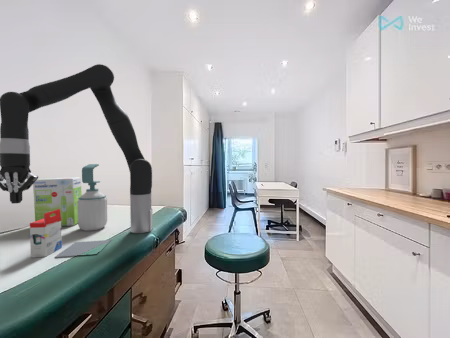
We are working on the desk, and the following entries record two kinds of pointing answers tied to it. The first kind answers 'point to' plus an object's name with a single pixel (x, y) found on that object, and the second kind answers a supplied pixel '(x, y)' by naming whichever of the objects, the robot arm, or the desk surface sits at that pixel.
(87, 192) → the soap bottle
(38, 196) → the toothbrush box
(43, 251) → the ink box
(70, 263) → the desk surface
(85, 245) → the mat
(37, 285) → the desk surface
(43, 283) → the desk surface
